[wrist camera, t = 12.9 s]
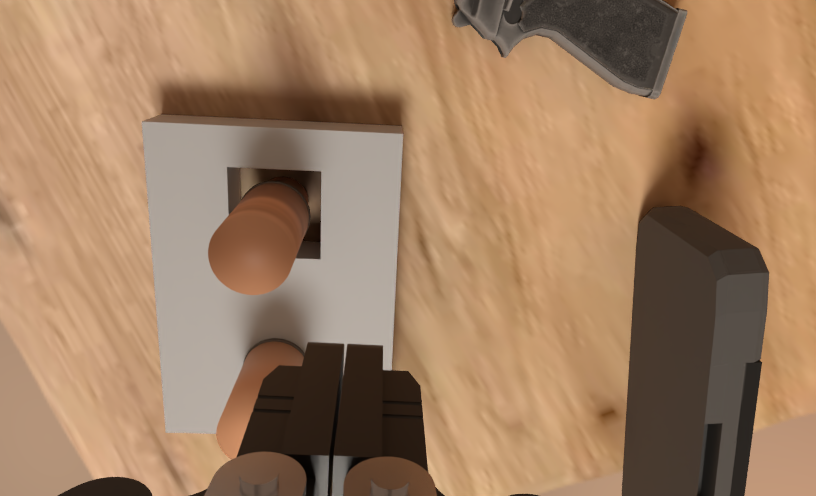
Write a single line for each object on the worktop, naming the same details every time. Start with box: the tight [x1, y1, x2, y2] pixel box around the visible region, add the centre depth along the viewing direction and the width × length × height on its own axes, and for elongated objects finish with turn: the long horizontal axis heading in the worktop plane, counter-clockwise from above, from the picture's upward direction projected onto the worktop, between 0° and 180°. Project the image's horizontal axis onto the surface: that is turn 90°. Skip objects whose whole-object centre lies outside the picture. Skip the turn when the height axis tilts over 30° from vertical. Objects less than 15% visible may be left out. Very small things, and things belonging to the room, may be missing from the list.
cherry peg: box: [208, 177, 310, 295], centre depth 32 cm, size 4×4×10 cm
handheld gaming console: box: [622, 206, 769, 496], centre depth 36 cm, size 23×3×10 cm, turn 3°
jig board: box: [142, 114, 403, 460], centre depth 34 cm, size 18×13×10 cm
